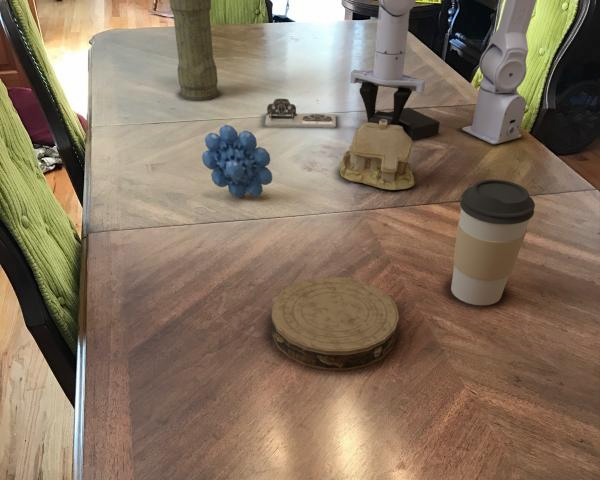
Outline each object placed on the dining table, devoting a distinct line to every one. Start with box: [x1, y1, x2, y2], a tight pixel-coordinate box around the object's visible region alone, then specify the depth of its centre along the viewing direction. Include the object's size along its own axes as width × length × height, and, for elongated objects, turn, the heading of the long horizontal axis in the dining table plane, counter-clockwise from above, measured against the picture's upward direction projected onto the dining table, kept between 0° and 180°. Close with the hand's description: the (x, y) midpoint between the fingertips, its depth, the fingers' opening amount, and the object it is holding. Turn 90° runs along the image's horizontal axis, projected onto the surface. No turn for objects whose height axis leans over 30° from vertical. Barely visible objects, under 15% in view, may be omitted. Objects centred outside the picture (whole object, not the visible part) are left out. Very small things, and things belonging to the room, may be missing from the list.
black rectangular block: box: [367, 110, 393, 125], centre depth 125 cm, size 4×6×3 cm
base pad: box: [388, 107, 441, 142], centre depth 128 cm, size 10×7×3 cm
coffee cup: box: [450, 178, 536, 306], centre depth 80 cm, size 9×9×15 cm
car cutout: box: [264, 98, 337, 129], centre depth 131 cm, size 15×7×4 cm, turn 88°
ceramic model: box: [338, 119, 415, 191], centre depth 109 cm, size 14×11×10 cm
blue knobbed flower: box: [201, 124, 273, 199], centre depth 101 cm, size 12×7×12 cm, turn 85°
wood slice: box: [271, 276, 400, 372], centre depth 78 cm, size 16×16×3 cm
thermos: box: [169, 0, 219, 102], centre depth 132 cm, size 9×12×35 cm
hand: (382, 125), depth 125 cm, fingers closed on black rectangular block, 4 cm apart
